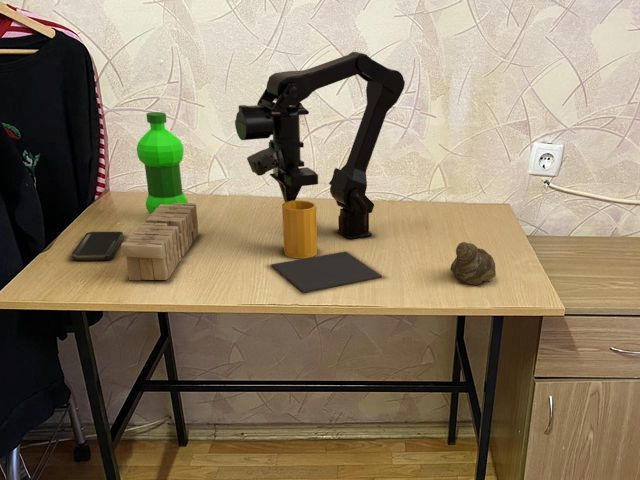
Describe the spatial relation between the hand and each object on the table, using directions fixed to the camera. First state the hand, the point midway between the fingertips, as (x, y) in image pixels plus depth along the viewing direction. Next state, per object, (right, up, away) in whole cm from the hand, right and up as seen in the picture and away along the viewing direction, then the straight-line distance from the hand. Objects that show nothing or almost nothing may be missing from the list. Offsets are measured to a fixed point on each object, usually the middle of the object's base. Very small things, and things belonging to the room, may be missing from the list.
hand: (289, 207), depth 161 cm
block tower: (-25, -12, -6) cm, 29 cm away
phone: (-41, -10, -4) cm, 42 cm away
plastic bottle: (-33, 0, +16) cm, 36 cm away
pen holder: (+3, -10, 0) cm, 10 cm away
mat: (+10, -15, -9) cm, 20 cm away
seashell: (+43, -17, -6) cm, 46 cm away
